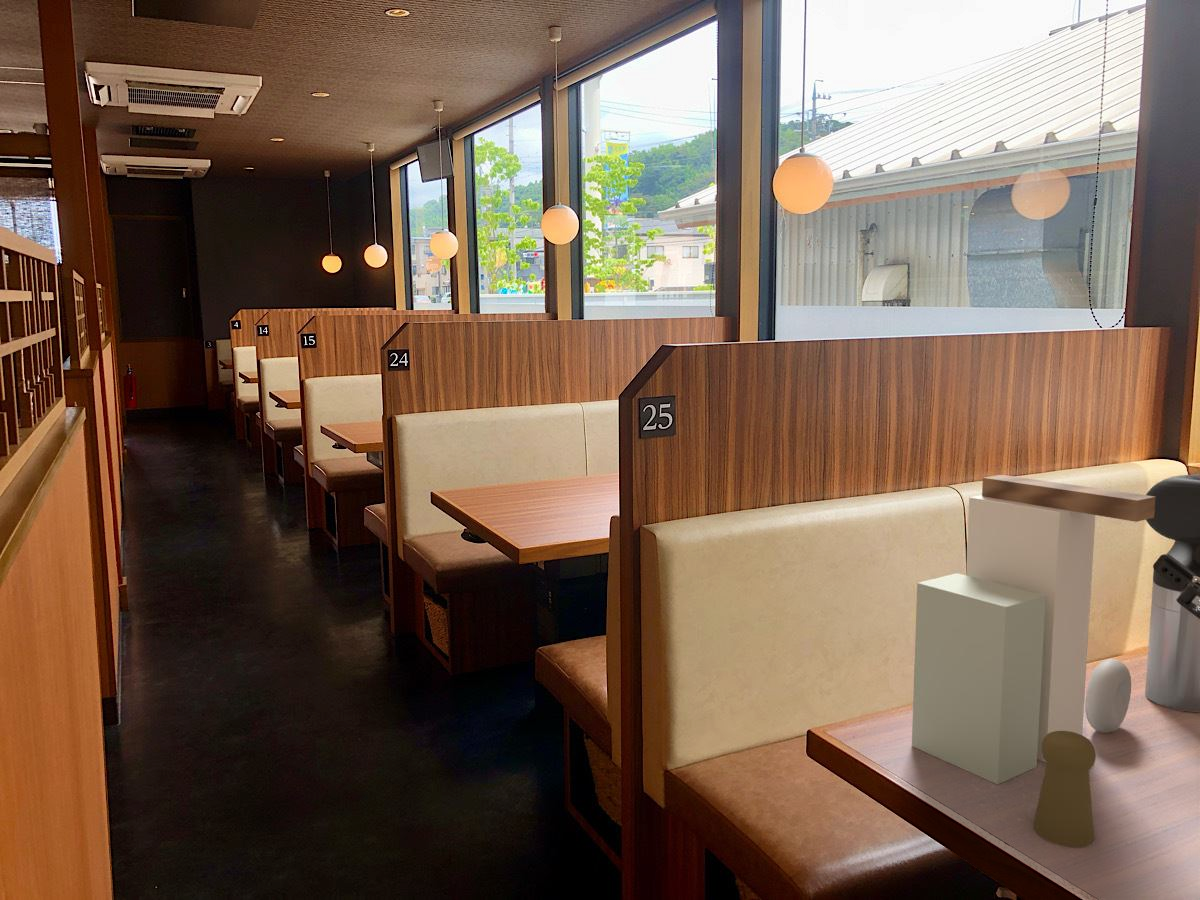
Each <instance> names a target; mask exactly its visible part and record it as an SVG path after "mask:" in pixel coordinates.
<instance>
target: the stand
mask: <svg viewBox="0 0 1200 900" xmlns="http://www.w3.org/2000/svg"><path fill="white" fill-rule="evenodd" d="M967 523H968V524H967V540H966V541H967V545H966V567H965V568H966V569H965V574H962V573H957V572H955V573H953V574H947V575H943V576H940V577H939V576H938V577H937V578H933V579H927V580H923V581H919V582H916V583H917V585H916V610H915V612H916V613H915V615H916V616H915V635H914V636H915V637H914V638H915V642H914V667H913V668H914V669H913V671H914V672H913V673H914V674H913V696H912V697H913V699H912V700H913V702H912V725H911V726H912V730H911V732H912V733H911V746H912V747H914V748H915V749H917V750H920V751H923V752H924V753H926V754H929V755H931V756H933V757H936V758H938V759H940V760H942V761H944V762H946V763H949V764H951V765H953V766H956V767H958V768H960V769H962V770H964V771H967V772H969V773H971V774H973V775H976V776H978V777H980V778H982V779H984V780H986V781H989V782H991V783H993V784H996V785H1000V784H1002V783H1004V782H1006V781H1009V780H1011V779H1013V778H1015V777H1017V776H1020V775H1022V774H1024V773H1026V772H1028V771H1030V770H1032V769H1035V768H1037V766H1038V765H1037V764H1038V762H1037V761H1038V760H1039V761H1042V762H1044V763H1046V761H1045V759H1044V758H1043V755H1042V742H1043V739H1044V738H1045V737H1046V735H1047V734H1048V733H1051V732H1054V731H1069V732H1074V733H1078V734H1080V735H1083V728H1084V727H1083V726H1084V711H1085V698H1086V696H1085V694H1086V678H1087V660H1088V647H1089V646H1088V644H1089V627H1090V608H1091V599H1092V598H1091V596H1092V582H1093V581H1092V578H1093V577H1092V575H1093V561H1094V547H1095V545H1094V543H1095V530H1096V528H1095V527H1096V515H1092V514H1086V513H1080V512H1074V511H1068V510H1062V509H1056V508H1050V507H1044V506H1038V505H1032V504H1026V503H1020V502H1014V501H1008V500H1002V499H996V498H990V497H984V496H982V494H981V495H976V496H969V498H968V520H967Z"/></svg>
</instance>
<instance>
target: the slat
mask: <svg viewBox="0 0 1200 900" xmlns="http://www.w3.org/2000/svg"><path fill="white" fill-rule="evenodd" d="M981 495H982V496H984V497H990V498H996V499H1002V500H1008V501H1014V502H1020V503H1026V504H1032V505H1038V506H1044V507H1050V508H1056V509H1062V510H1068V511H1074V512H1080V513H1086V514H1092V515H1095V516H1099V517H1104V518H1111V519H1117V520H1122V521H1128V522H1135V523H1137V522H1142V521H1146V519H1150V518H1154V512H1155V498H1156V497H1155V496H1148V495H1145V494H1139V493H1131V492H1124V491H1118V490H1111V489H1105V488H1104V489H1103V488H1097V487H1090V486H1082V485H1077V484H1076V485H1075V484H1070V483H1063V482H1057V481H1047V480H1040V479H1033V478H1026V477H1019V476H1013V475H1006V474H997V475H992V476H986V477H985V476H984V477H982V491H981Z"/></svg>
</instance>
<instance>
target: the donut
mask: <svg viewBox="0 0 1200 900" xmlns="http://www.w3.org/2000/svg"><path fill="white" fill-rule="evenodd" d="M1085 694H1086V696H1085V702H1084V710H1085V716H1086V720H1087V721H1088V724H1089V725H1090V727H1092V729H1094V730H1095V731H1097V732H1099V733H1101V734H1111V733H1113V732H1114V731H1116V730H1117V729H1119V728H1120V727H1121V725H1122V724H1123V722H1124V719H1125V718H1126V715H1127V712H1128V709H1129V707H1130V706H1129V705H1130V700H1131V694H1132V678H1131V673H1130V670H1129V668H1128V667H1127V665H1126V664H1124V662H1122V661H1120V660H1119V659H1117V658H1108V659H1104V660H1101V661H1100V662H1099V663H1098V664H1097V666H1096V667H1095V669H1093V672H1092V674H1091V676H1090V679H1089V682H1088V685H1087V689H1086V692H1085Z"/></svg>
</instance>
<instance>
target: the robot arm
mask: <svg viewBox="0 0 1200 900" xmlns="http://www.w3.org/2000/svg"><path fill="white" fill-rule="evenodd" d="M1146 495H1148V496H1155V497H1156V498H1155V512H1154V518H1150V519H1146V520H1145V522H1147V524H1148V526H1150V528H1151V529H1153V530H1154V531H1155V532H1156V533H1157V534H1159V535H1161V536H1163V537H1164V538H1166V539H1169V540H1173V541H1174V543H1173V545H1172V547H1171V548H1170V550H1168V552H1166V553H1164V554H1161V555H1160V556H1159V557H1158V558H1157V559H1156V561H1155V562H1154V564H1153V565H1152V569H1153V572H1152V573H1153V574H1152V575H1153V576H1152V587H1151V589H1152V590H1151V606H1150V616H1149V617H1150V620H1149V621H1150V622H1149V634H1148V646H1147V647H1148V648H1147V660H1146V661H1147V662H1146V672H1145V673H1146V674H1145V675H1146V676H1145V688H1144V689H1145V690H1144V693H1145V696H1146V698H1147V699H1149V701H1152V702H1154V703H1155V704H1157V705H1160V706H1163V707H1166V708H1170V709H1173V710H1177V711H1183V712H1190V713H1200V473H1193V474H1182V475H1176V476H1170V477H1168V478H1164V479H1162V480H1161V481H1159V482H1156V484H1154V485H1153V486H1151V488H1150V489H1149V490H1148V491H1147V493H1146Z"/></svg>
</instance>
